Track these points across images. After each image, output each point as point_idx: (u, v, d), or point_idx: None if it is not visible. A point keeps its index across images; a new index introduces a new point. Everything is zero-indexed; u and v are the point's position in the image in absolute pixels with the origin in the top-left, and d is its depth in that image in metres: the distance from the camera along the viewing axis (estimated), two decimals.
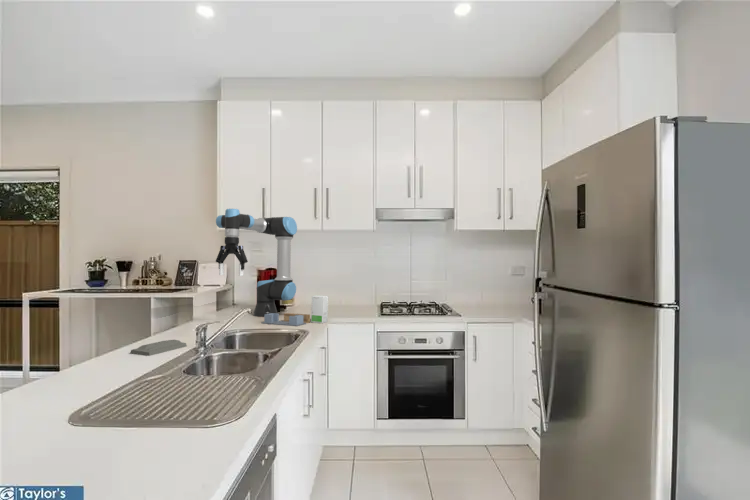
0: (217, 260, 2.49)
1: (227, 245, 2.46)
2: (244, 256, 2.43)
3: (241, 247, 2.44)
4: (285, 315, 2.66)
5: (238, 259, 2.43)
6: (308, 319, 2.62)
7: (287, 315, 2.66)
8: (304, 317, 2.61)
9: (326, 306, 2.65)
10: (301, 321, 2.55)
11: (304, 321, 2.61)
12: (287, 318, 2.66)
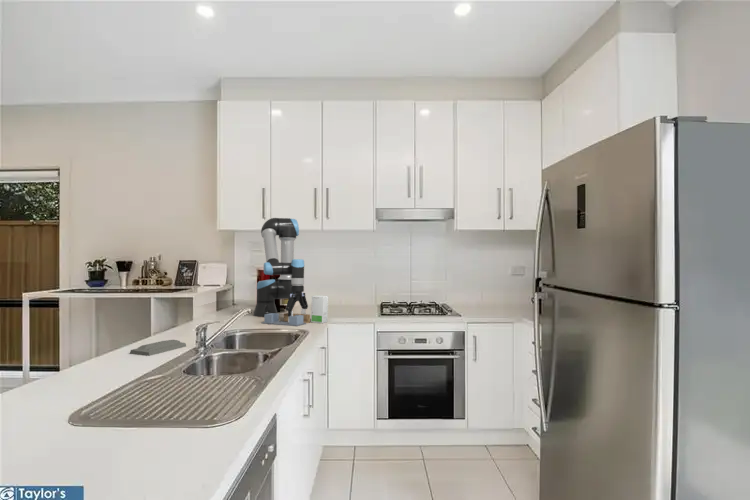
0: None
1: None
2: (288, 304, 2.57)
3: (290, 295, 2.59)
4: (285, 315, 2.66)
5: None
6: (308, 319, 2.62)
7: (287, 315, 2.66)
8: (304, 317, 2.61)
9: (326, 306, 2.65)
10: (301, 321, 2.55)
11: (304, 321, 2.61)
12: (287, 318, 2.66)
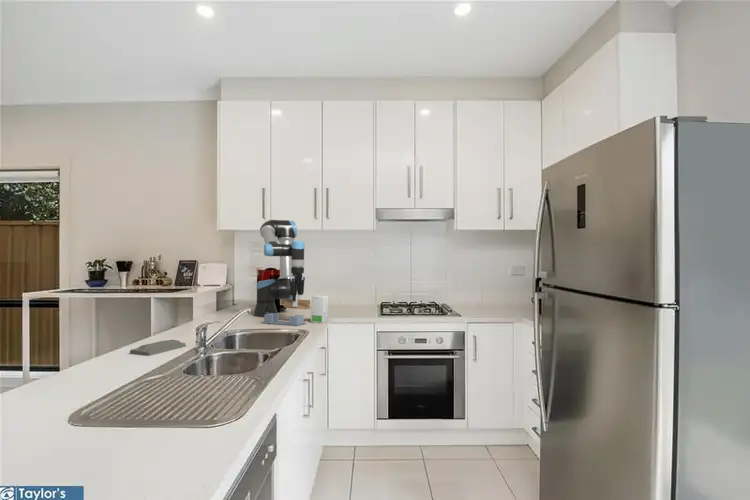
0: None
1: None
2: (291, 289, 2.61)
3: (291, 280, 2.60)
4: (285, 301, 2.67)
5: None
6: (308, 305, 2.63)
7: (287, 301, 2.66)
8: (304, 303, 2.62)
9: (326, 306, 2.65)
10: (301, 321, 2.55)
11: (304, 307, 2.62)
12: (287, 304, 2.66)
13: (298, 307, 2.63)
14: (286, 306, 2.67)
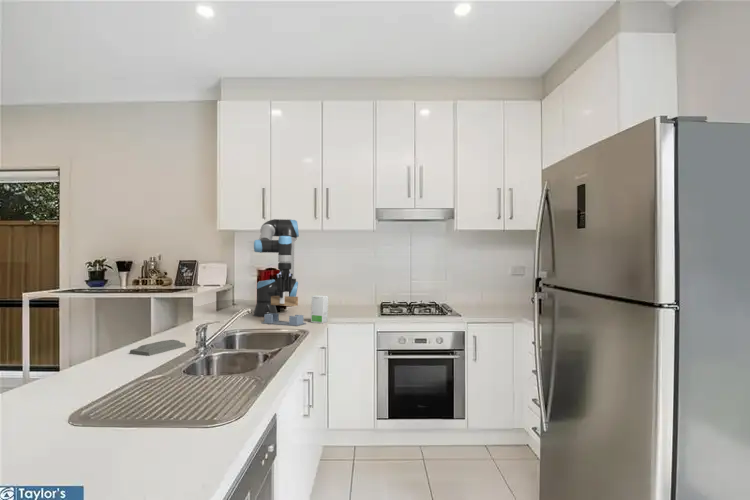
0: None
1: None
2: (278, 285, 2.53)
3: (277, 276, 2.53)
4: (272, 298, 2.59)
5: None
6: (296, 301, 2.55)
7: (274, 298, 2.59)
8: (292, 299, 2.54)
9: (326, 306, 2.65)
10: (301, 321, 2.55)
11: (292, 303, 2.54)
12: (274, 301, 2.59)
13: (285, 304, 2.56)
14: (273, 303, 2.59)
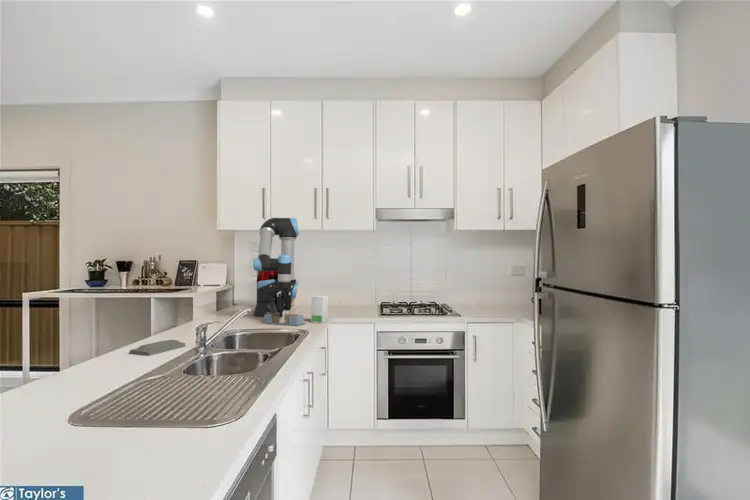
0: None
1: None
2: (278, 304, 2.53)
3: (277, 295, 2.53)
4: None
5: None
6: None
7: (274, 315, 2.58)
8: None
9: (326, 306, 2.65)
10: (301, 321, 2.55)
11: None
12: (274, 318, 2.58)
13: (285, 322, 2.55)
14: (273, 320, 2.59)
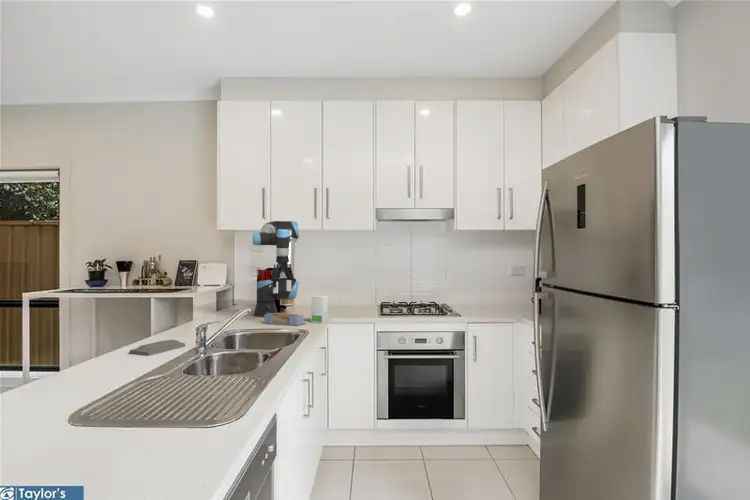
0: None
1: None
2: (273, 274, 2.53)
3: (275, 266, 2.55)
4: None
5: None
6: None
7: (274, 315, 2.58)
8: None
9: (326, 306, 2.65)
10: (301, 321, 2.55)
11: None
12: (274, 318, 2.58)
13: (285, 322, 2.55)
14: (273, 320, 2.59)
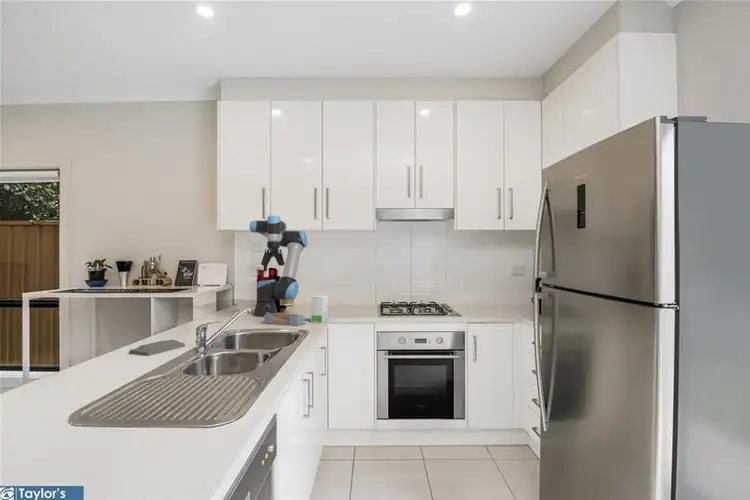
0: None
1: None
2: (264, 258, 2.62)
3: (266, 250, 2.64)
4: None
5: None
6: None
7: (274, 315, 2.58)
8: None
9: (326, 306, 2.65)
10: (301, 321, 2.55)
11: None
12: (274, 318, 2.58)
13: (285, 322, 2.55)
14: (273, 320, 2.59)
